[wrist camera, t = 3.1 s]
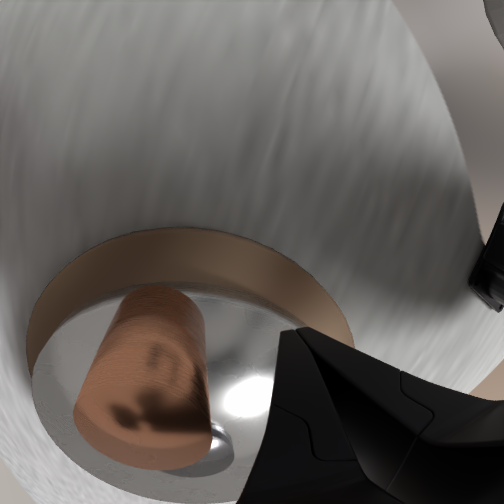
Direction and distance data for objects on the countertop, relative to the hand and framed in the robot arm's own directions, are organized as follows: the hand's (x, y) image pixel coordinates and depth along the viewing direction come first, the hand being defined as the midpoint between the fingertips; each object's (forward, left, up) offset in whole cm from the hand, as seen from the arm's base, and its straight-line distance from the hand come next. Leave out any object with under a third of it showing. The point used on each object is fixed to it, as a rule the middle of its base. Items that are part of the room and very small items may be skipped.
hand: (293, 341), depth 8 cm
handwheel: (0, +7, -4) cm, 8 cm away
